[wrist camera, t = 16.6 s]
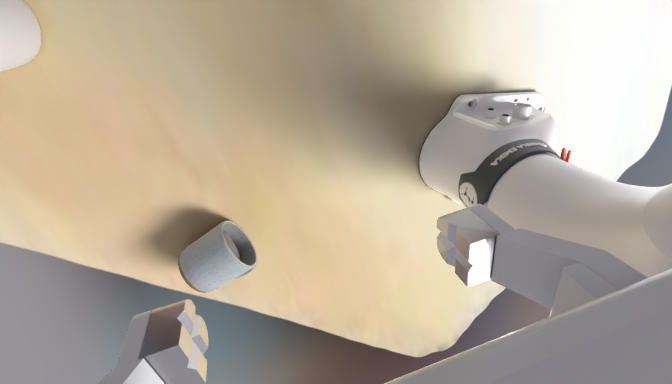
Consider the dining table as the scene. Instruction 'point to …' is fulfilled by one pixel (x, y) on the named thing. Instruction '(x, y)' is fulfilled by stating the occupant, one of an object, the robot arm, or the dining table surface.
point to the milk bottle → (17, 34)
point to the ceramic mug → (217, 257)
